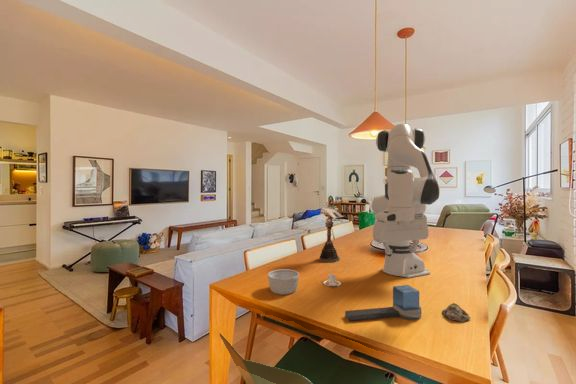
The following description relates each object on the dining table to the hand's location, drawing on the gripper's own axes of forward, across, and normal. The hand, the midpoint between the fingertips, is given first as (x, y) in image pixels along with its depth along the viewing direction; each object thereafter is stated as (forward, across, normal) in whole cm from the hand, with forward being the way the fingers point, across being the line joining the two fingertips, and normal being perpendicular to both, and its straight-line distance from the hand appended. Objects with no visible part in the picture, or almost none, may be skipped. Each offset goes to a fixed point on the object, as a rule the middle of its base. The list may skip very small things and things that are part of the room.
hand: (401, 253), depth 98 cm
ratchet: (+20, +9, +4) cm, 22 cm away
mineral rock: (+20, -14, +9) cm, 27 cm away
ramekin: (+20, +38, -27) cm, 51 cm away
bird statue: (+21, 0, -66) cm, 69 cm away
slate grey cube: (+17, +1, +4) cm, 18 cm away
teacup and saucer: (+21, +18, -29) cm, 40 cm away
